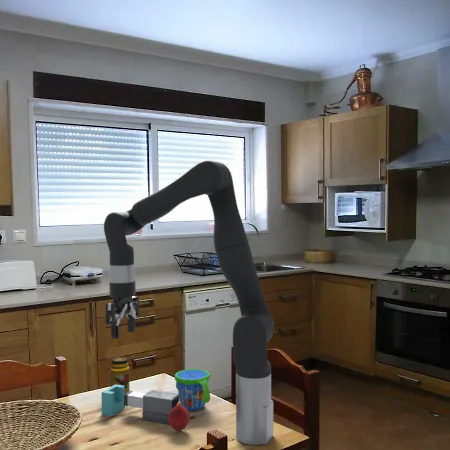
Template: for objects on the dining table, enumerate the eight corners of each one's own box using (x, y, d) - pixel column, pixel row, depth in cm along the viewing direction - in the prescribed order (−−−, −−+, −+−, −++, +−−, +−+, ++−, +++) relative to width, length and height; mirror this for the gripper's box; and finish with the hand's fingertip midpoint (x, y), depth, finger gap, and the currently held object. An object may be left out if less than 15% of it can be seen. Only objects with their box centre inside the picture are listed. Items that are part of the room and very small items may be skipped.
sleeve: (180, 417, 147) (179, 393, 147) (170, 425, 141) (170, 400, 141) (152, 412, 150) (152, 389, 150) (142, 420, 145) (142, 396, 144)
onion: (186, 437, 134) (186, 407, 134) (165, 435, 135) (165, 405, 135) (192, 427, 140) (192, 399, 139) (172, 426, 141) (172, 397, 141)
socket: (125, 407, 154) (124, 385, 154) (111, 416, 148) (111, 393, 148) (115, 405, 156) (115, 384, 155) (101, 414, 149) (101, 392, 149)
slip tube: (171, 408, 146) (171, 397, 146) (166, 412, 143) (166, 401, 143) (130, 401, 151) (130, 390, 151) (124, 405, 148) (123, 394, 148)
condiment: (126, 400, 160) (125, 362, 160) (100, 398, 162) (100, 361, 161) (133, 391, 168) (133, 355, 167) (109, 390, 169) (109, 354, 169)
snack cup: (166, 401, 159) (166, 369, 158) (196, 395, 164) (195, 364, 164) (188, 419, 145) (188, 384, 145) (220, 412, 151) (220, 378, 150)
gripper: (119, 283, 140) (121, 342, 140) (145, 277, 153) (147, 330, 154) (97, 282, 143) (98, 339, 143) (124, 276, 156) (125, 328, 156)
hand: (123, 335), depth 148 cm, fingers open, 8 cm apart
